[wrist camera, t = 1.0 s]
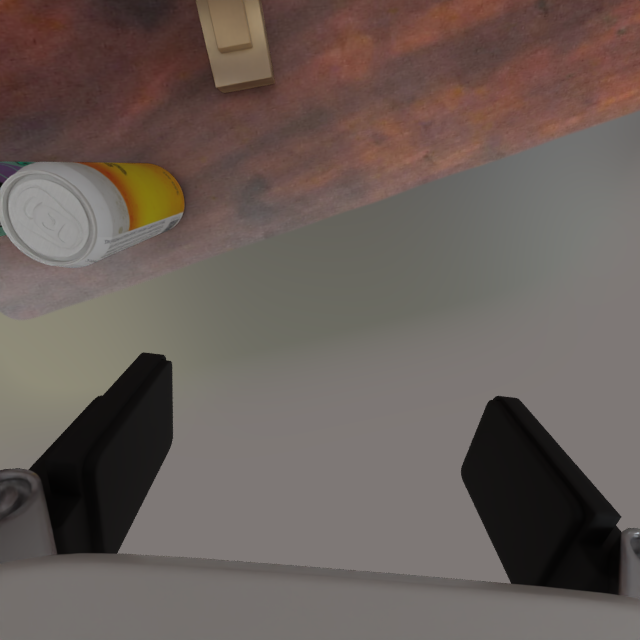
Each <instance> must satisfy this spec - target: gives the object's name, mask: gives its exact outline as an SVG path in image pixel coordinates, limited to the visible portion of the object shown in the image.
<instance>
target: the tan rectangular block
mask: <svg viewBox="0 0 640 640" xmlns="http://www.w3.org/2000/svg"><path fill="white" fill-rule="evenodd" d="M196 5H197V9H198V13H199V18H200V22H201V26H202V31H203V35H204V39H205V44H206V48H207V52H208V56H209V61H210V65H211V69H212V74H213V78H214V82H215V87H216V88H217V89H218V90H220V91H221V92H222V93H228V92H233V91H238V90H244V89H249V88H255V87H260V86H266V85H271V84H275V78H274V73H273V67H272V61H271V56H270V50H269V44H268V38H267V33H266V27H265V21H264V16H263V10H262V4H261V0H196Z"/></svg>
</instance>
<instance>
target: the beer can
mask: <svg viewBox="0 0 640 640" xmlns="http://www.w3.org/2000/svg"><path fill="white" fill-rule="evenodd" d="M184 205H185V203H184V195H183V192H182V189H181V187H180V185H179V183H178V182H177V180H176V179H175V178H174V177H173V176H172V175H171V174H170V173H169V172H168V171H166V170H165V169H163V168H162V167H160V166H157V165H154V164H149V163H96V162H36V163H32V164H29V165H26V166H24V167H23V168H21V169H20V170H18V171H17V172H16V173H15V174H14V175H12V176H10V177H9V178H8V179H7V180H6V181H5V182H4V183H3V185H2V186H1V188H0V223H1V225H2V228H3V230H4V231H5V233H6V235H7V236H8V238H9V239H10V240H11V241H12V243H13V244H14V245H15V246H16V247H17V248H18V249H19V250H21V251H22V252H23V253H24V254H26V255H27V256H29V257H30V258H32V259H34V260H36V261H38V262H41V263H44V264H47V265H52V266H61V267H67V268H80V267H85V266H88V265H91V264H93V263H95V262H97V261H100V260H102V259H104V258H107V257H109V256H111V255H113V254H116V253H118V252H120V251H122V250H125V249H127V248H129V247H131V246H134V245H136V244H138V243H140V242H143V241H145V240H147V239H150V238H152V237H154V236H156V235H159V234H161V233H163V232H165V231H168V230H170V229H172V228H173V227H174V226H176V225H177V224H178V222H179V221H180V219H181V218H182V215H183V212H184Z"/></svg>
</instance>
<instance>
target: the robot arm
mask: <svg viewBox="0 0 640 640" xmlns="http://www.w3.org/2000/svg"><path fill="white" fill-rule="evenodd" d="M172 404H173V402H172V362H171V361H167V360H166V357H165V356H164V355H160V354H152V353H142V354H140V355H139V356H138V358H137V359H136V360H135V361H134V362H133V363H132V364H131V365H130V367H128V369H127V370H126V371H125V372H124V373H123V374H122V375H121V376H120V377H119V379H118V380H117V381H116V382H115V383H114V384H113V385H112V386H111V387H110V388H109V389H108V391H107V392H106V393H105V394H104V395H103V396H98V397H97V398H95V400H93V401H92V402H91V403H90V404H89V405H88V407H87V408H86V409H85V410H84V411H83V412H82V413H81V414H80V415H79V416H78V417H77V418H76V419H75V420H74V421H73V423H72V424H71V425H70V426H69V427H68V428H67V429H66V430H65V431H64V432H63V433H62V434H61V436H60V437H59V438H58V439H57V440H56V441H55V442H54V443H53V444H52V445H51V446H50V447H49V448H48V449H47V450H46V452H45V453H44V454H43V455H42V456H41V457H40V458H39V459H38V460H37V461H36V462H35V463H34V464H33V465H32V467H31V468H30V469H29V470H26V469H20V468H16V469H4V470H0V640H640V529H638V528H628V529H626V530H624V531H623V532H621V531H620V530H619V529H618V527H617V526H616V524H617V523H618V521H619V520H620V518H621V516H620V515H619V514H618V512H617V511H616V510H615V509H614V508H613V507H612V505H611V504H610V503H609V502H608V501H607V500H606V499H605V498H604V496H603V495H602V494H601V493H600V492H599V490H597V488H596V487H595V486H594V485H593V484H592V482H591V481H590V480H589V479H588V478H587V477H586V476H585V474H584V473H583V472H582V471H581V470H580V469H579V467H578V466H577V465H576V464H575V463H574V462H573V461H572V459H571V458H570V457H569V456H568V455H567V454H566V453H565V452H564V450H563V449H562V448H561V447H560V446H559V445H558V443H557V442H556V441H555V440H554V439H553V438H552V436H551V435H550V434H549V433H548V432H547V431H546V430H545V429H544V427H543V426H542V425H541V424H540V423H539V422H538V420H537V419H536V418H535V417H534V416H533V415H532V414H531V412H530V411H529V410H528V409H527V408H526V407H525V405H524V404H523V403H522V402H521V401H520V400H519V399H517V398H511V397H502V396H496V397H495V398H494V399H493V400H490V401H489V402H488V403H487V406H486V408H485V410H484V413H483V415H482V418H481V421H480V423H479V425H478V428H477V430H476V433H475V435H474V438H473V440H472V443H471V446H470V447H469V450H468V453H467V455H466V457H465V460H464V462H463V465H462V468H461V476H462V479H463V482H464V484H465V486H466V488H467V490H468V492H469V494H470V497H471V499H472V501H473V503H474V505H475V507H476V509H477V512H478V514H479V516H480V518H481V520H482V522H483V524H484V526H485V529H486V531H487V533H488V535H489V537H490V539H491V541H492V543H493V546H494V548H495V550H496V552H497V554H498V556H499V558H500V560H501V563H502V564H503V567H504V569H505V571H506V573H507V575H508V578H509V579H510V582H511V584H507V583H497V582H486V581H474V580H463V579H452V578H440V577H428V576H416V575H404V574H393V573H381V572H369V571H356V570H344V569H332V568H320V567H307V566H294V565H280V564H268V563H255V562H242V561H229V560H215V559H202V558H187V557H170V556H152V555H136V554H117V553H118V550H119V549H120V547H121V545H122V543H123V541H124V538H125V537H126V535H127V533H128V530H129V529H130V527H131V525H132V523H133V521H134V519H135V517H136V515H137V513H138V511H139V509H140V507H141V505H142V503H143V501H144V499H145V497H146V495H147V493H148V491H149V489H150V487H151V485H152V483H153V481H154V479H155V477H156V475H157V473H158V471H159V469H160V467H161V465H162V463H163V461H164V459H165V457H166V455H167V453H168V451H169V449H170V447H171V444H172V439H173V405H172Z"/></svg>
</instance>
